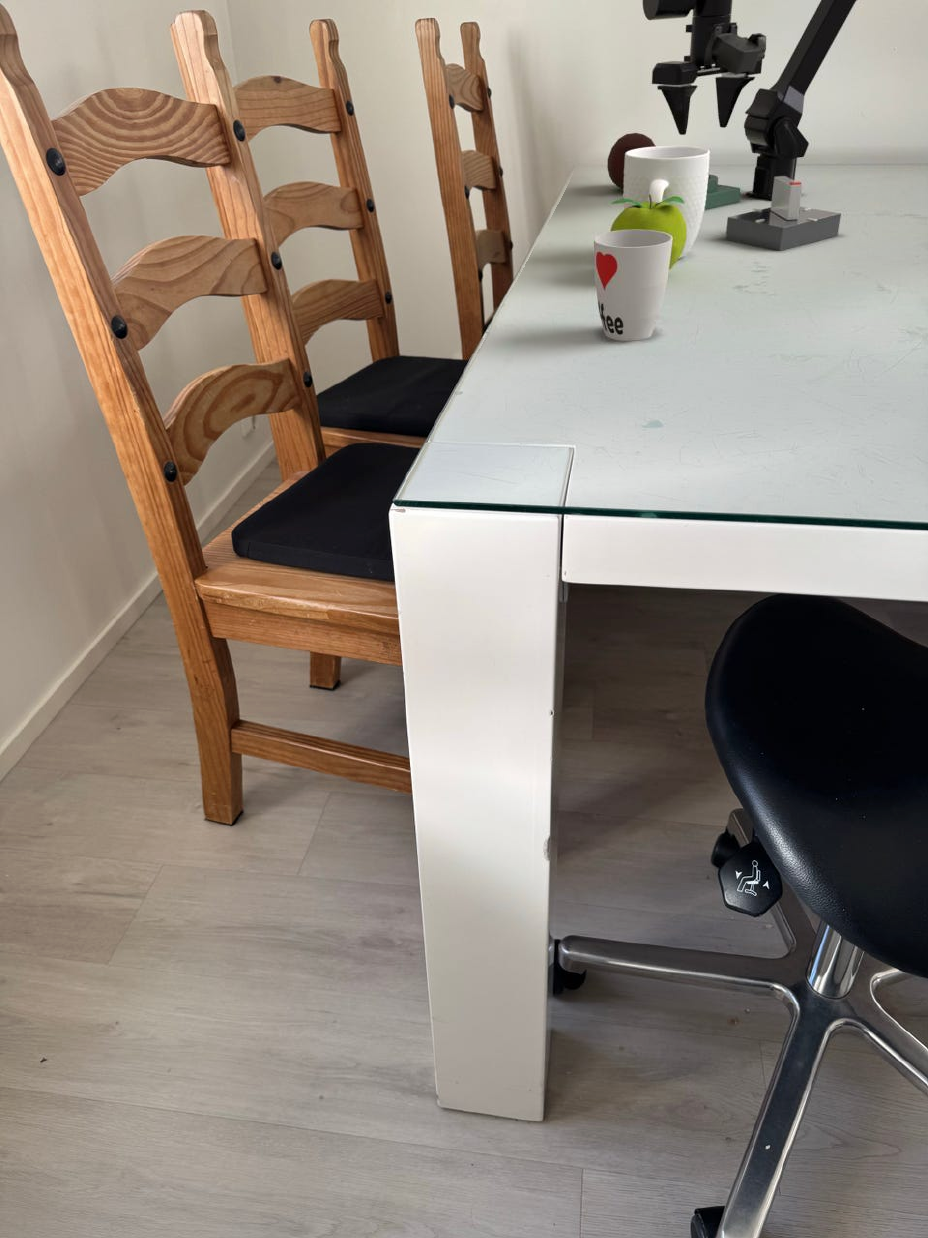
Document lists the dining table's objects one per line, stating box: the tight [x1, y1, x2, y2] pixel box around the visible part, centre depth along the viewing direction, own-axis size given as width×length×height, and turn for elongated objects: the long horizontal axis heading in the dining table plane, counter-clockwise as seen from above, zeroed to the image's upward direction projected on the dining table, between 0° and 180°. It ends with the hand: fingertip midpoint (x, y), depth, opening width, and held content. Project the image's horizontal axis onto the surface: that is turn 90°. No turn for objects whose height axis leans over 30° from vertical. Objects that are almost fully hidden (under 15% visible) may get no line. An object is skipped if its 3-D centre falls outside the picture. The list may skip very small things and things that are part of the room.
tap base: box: [725, 206, 842, 252], centre depth 137 cm, size 12×11×3 cm
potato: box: [606, 132, 657, 191], centre depth 170 cm, size 9×12×9 cm
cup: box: [593, 230, 673, 342], centre depth 103 cm, size 8×8×10 cm
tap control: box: [704, 174, 741, 211], centre depth 159 cm, size 11×9×4 cm
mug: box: [622, 145, 711, 260], centre depth 128 cm, size 15×11×13 cm
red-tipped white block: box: [770, 176, 803, 220], centre depth 135 cm, size 7×2×5 cm, turn 4°
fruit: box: [609, 194, 687, 271], centre depth 122 cm, size 9×9×10 cm
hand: (703, 130), depth 154 cm, fingers open, 9 cm apart
